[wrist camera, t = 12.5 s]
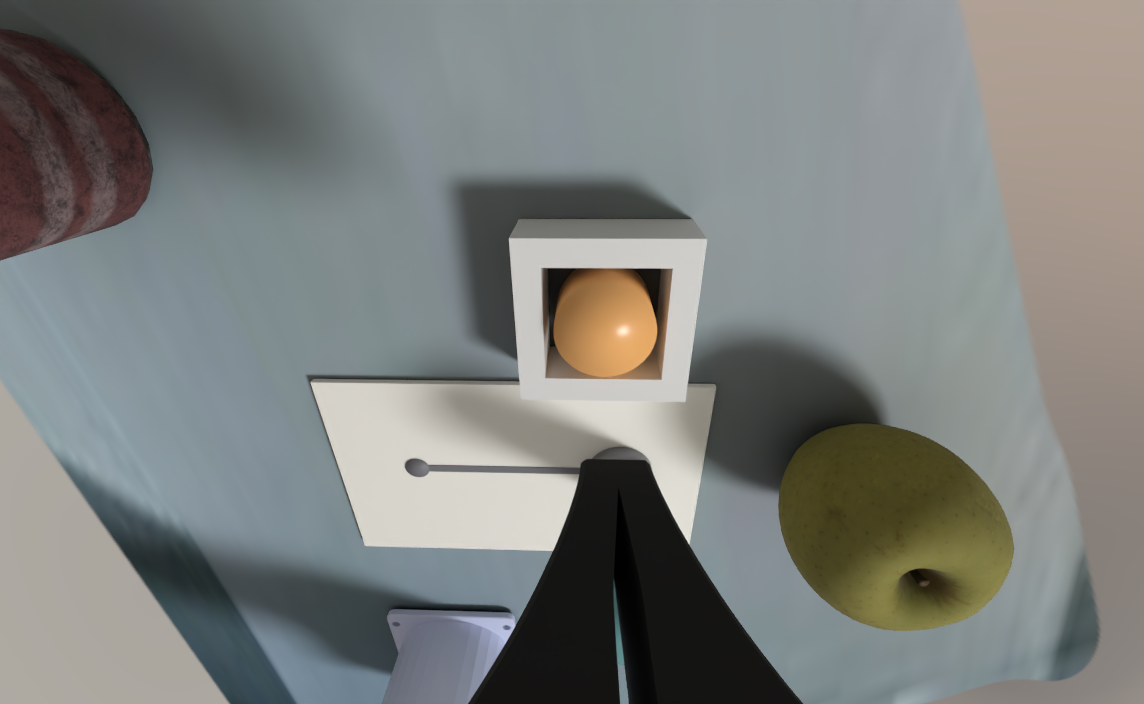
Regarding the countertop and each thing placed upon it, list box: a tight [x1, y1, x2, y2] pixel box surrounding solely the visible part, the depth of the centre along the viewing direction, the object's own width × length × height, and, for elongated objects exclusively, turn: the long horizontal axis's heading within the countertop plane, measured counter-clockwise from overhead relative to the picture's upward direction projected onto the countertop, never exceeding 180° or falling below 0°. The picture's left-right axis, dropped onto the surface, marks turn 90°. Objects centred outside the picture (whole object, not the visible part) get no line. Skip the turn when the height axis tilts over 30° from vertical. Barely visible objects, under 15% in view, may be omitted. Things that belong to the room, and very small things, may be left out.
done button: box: [553, 268, 657, 377], centre depth 18 cm, size 4×4×2 cm
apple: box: [778, 423, 1014, 631], centre depth 20 cm, size 8×8×7 cm
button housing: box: [509, 219, 707, 402], centre depth 18 cm, size 6×6×2 cm
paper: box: [310, 379, 716, 551], centre depth 24 cm, size 11×18×1 cm, turn 91°
